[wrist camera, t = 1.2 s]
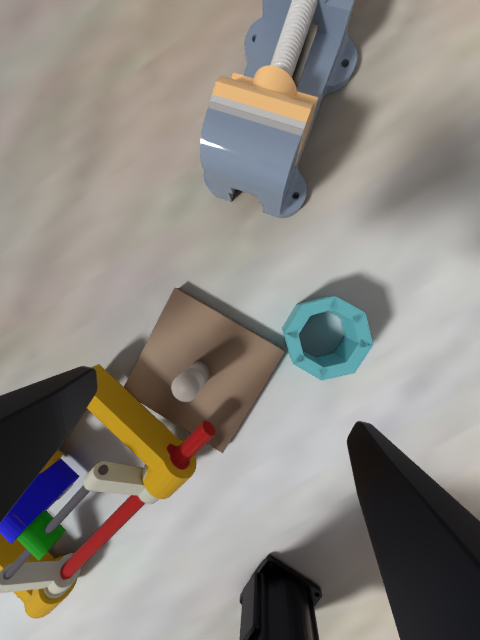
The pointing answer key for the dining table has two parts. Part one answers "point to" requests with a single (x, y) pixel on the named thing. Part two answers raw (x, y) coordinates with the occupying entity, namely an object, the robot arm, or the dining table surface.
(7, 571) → the yellow jointed frame
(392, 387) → the dining table surface
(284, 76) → the vise
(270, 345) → the post stand
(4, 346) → the dining table surface
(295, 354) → the ring
